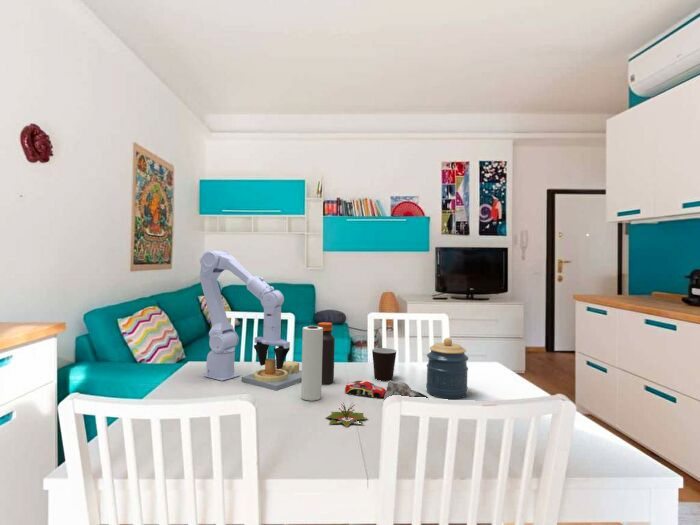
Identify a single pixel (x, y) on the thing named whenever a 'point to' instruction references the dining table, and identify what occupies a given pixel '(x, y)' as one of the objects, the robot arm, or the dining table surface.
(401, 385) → the camouflage cap
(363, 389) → the race car
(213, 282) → the robot arm
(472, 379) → the dining table surface
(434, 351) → the canister
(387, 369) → the coffee mug
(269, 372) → the planet gear
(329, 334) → the bottle
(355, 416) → the lily flower
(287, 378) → the carrier plate
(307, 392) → the paper towel roll
